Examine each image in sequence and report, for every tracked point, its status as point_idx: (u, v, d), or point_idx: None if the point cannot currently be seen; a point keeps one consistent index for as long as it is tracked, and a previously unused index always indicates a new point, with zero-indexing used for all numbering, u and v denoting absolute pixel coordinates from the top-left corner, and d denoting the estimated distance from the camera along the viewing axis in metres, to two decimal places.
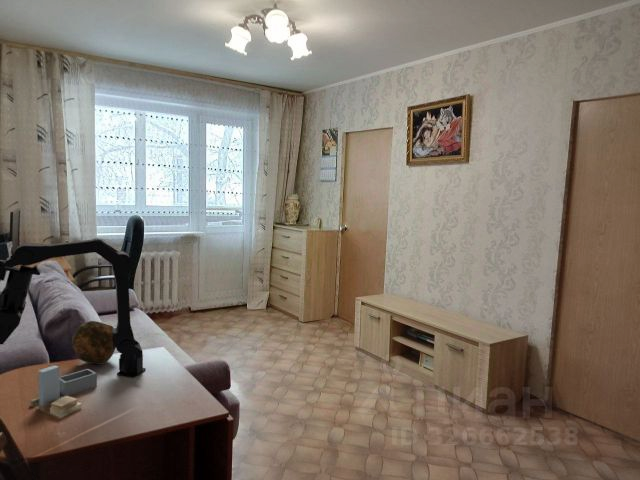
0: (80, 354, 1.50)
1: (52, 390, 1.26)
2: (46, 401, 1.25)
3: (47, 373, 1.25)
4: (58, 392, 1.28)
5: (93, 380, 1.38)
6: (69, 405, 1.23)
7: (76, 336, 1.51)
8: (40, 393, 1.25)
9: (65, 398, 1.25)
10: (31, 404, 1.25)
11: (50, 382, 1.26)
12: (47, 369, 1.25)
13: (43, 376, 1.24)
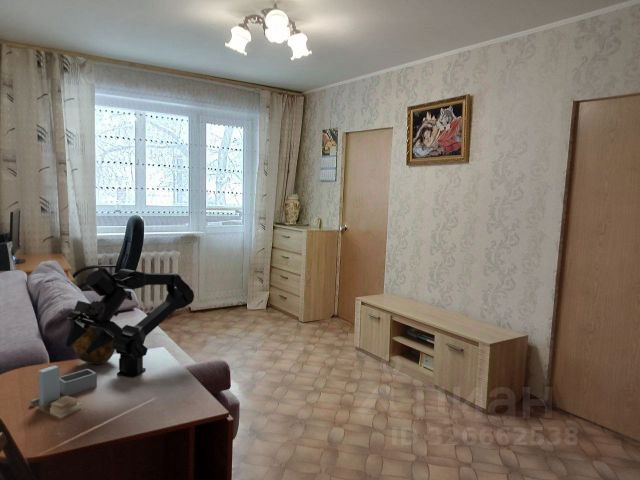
0: (80, 354, 1.50)
1: (52, 390, 1.26)
2: (46, 401, 1.25)
3: (47, 373, 1.25)
4: (58, 392, 1.28)
5: (93, 380, 1.38)
6: (69, 405, 1.23)
7: None
8: (40, 393, 1.25)
9: (65, 398, 1.25)
10: (31, 404, 1.25)
11: (50, 382, 1.26)
12: (47, 369, 1.25)
13: (43, 376, 1.24)
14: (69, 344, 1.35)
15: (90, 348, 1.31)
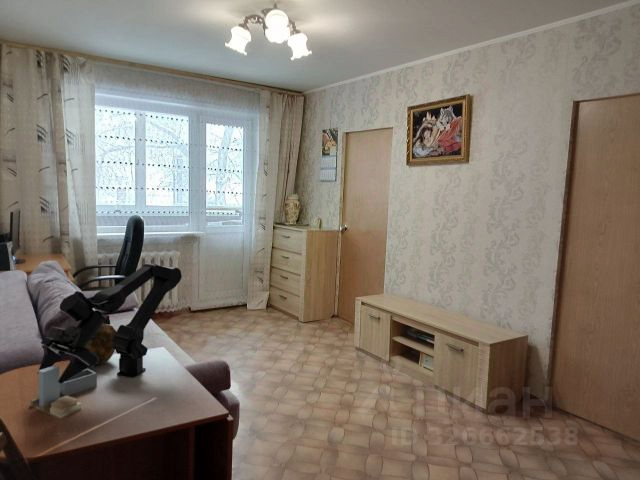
0: None
1: (52, 390, 1.26)
2: (46, 401, 1.25)
3: (47, 373, 1.25)
4: (58, 392, 1.28)
5: (93, 380, 1.38)
6: (69, 405, 1.23)
7: None
8: (40, 393, 1.25)
9: (65, 398, 1.25)
10: (31, 404, 1.25)
11: (50, 382, 1.26)
12: (47, 369, 1.25)
13: (43, 376, 1.24)
14: None
15: (63, 377, 1.24)
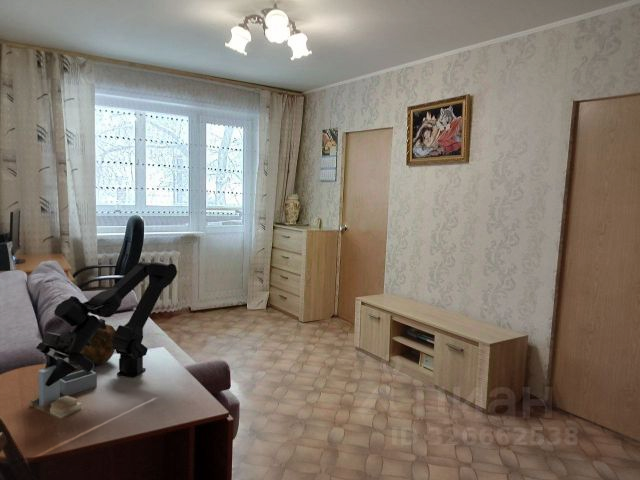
0: None
1: (52, 390, 1.26)
2: (46, 401, 1.25)
3: (47, 373, 1.25)
4: (58, 392, 1.28)
5: (93, 380, 1.38)
6: (69, 405, 1.23)
7: None
8: (40, 393, 1.25)
9: (65, 398, 1.25)
10: (31, 404, 1.25)
11: None
12: (47, 369, 1.25)
13: (43, 376, 1.24)
14: None
15: (50, 380, 1.25)
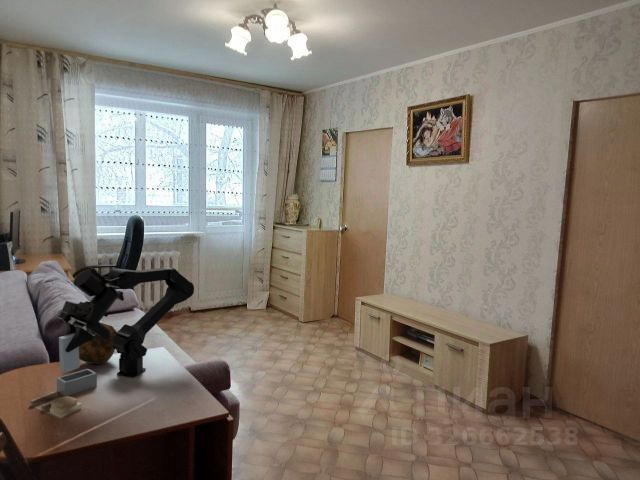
0: (80, 354, 1.50)
1: (72, 356, 1.33)
2: (66, 366, 1.32)
3: (66, 340, 1.31)
4: (78, 359, 1.34)
5: (93, 380, 1.38)
6: (69, 405, 1.23)
7: None
8: (60, 359, 1.31)
9: (65, 398, 1.25)
10: (31, 404, 1.25)
11: None
12: (66, 336, 1.32)
13: (63, 342, 1.30)
14: None
15: (70, 346, 1.31)
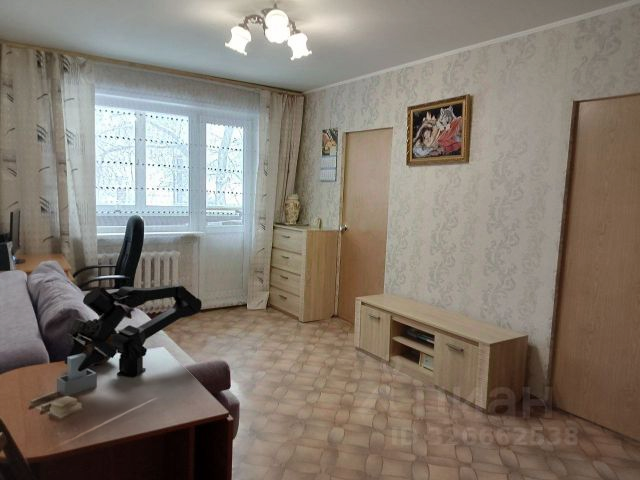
0: None
1: (79, 376, 1.36)
2: None
3: (74, 360, 1.34)
4: None
5: (93, 380, 1.38)
6: (69, 405, 1.23)
7: None
8: (68, 378, 1.35)
9: (65, 398, 1.25)
10: (31, 404, 1.25)
11: (77, 368, 1.35)
12: (75, 356, 1.35)
13: (71, 362, 1.34)
14: None
15: (82, 366, 1.33)
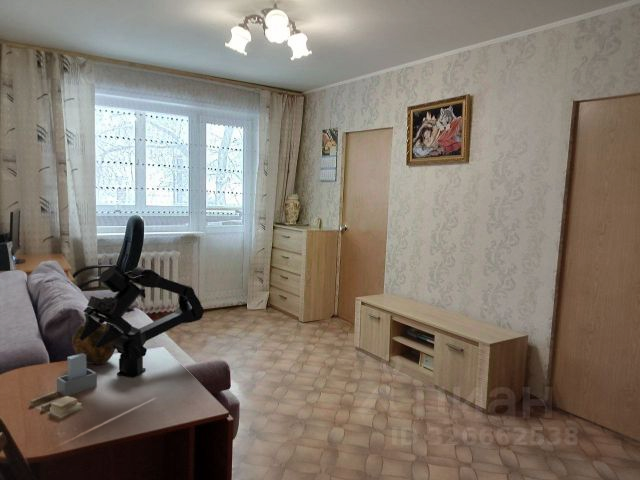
0: None
1: (79, 376, 1.36)
2: None
3: (74, 360, 1.34)
4: None
5: (93, 380, 1.38)
6: (69, 405, 1.23)
7: (76, 336, 1.51)
8: (68, 378, 1.35)
9: (65, 398, 1.25)
10: (31, 404, 1.25)
11: (77, 368, 1.35)
12: (75, 356, 1.35)
13: (71, 362, 1.34)
14: (83, 337, 1.41)
15: (100, 342, 1.35)
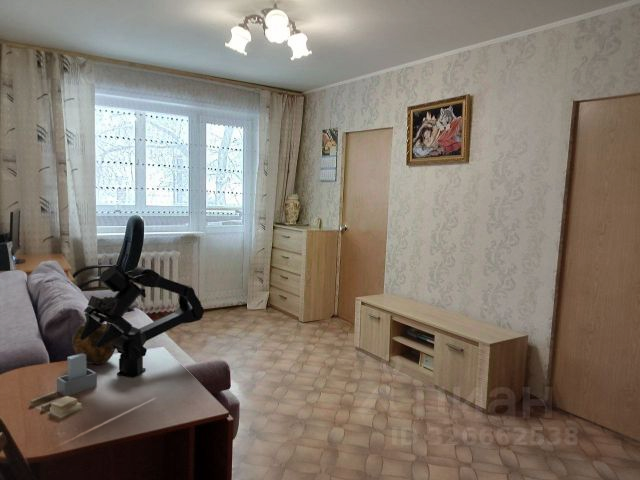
0: None
1: (79, 376, 1.36)
2: None
3: (74, 360, 1.34)
4: None
5: (93, 380, 1.38)
6: (69, 405, 1.23)
7: (76, 336, 1.51)
8: (68, 378, 1.35)
9: (65, 398, 1.25)
10: (31, 404, 1.25)
11: (77, 368, 1.35)
12: (75, 356, 1.35)
13: (71, 362, 1.34)
14: (83, 337, 1.41)
15: (100, 342, 1.36)
